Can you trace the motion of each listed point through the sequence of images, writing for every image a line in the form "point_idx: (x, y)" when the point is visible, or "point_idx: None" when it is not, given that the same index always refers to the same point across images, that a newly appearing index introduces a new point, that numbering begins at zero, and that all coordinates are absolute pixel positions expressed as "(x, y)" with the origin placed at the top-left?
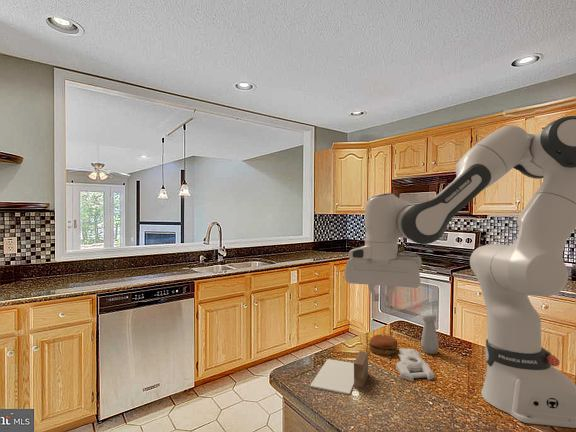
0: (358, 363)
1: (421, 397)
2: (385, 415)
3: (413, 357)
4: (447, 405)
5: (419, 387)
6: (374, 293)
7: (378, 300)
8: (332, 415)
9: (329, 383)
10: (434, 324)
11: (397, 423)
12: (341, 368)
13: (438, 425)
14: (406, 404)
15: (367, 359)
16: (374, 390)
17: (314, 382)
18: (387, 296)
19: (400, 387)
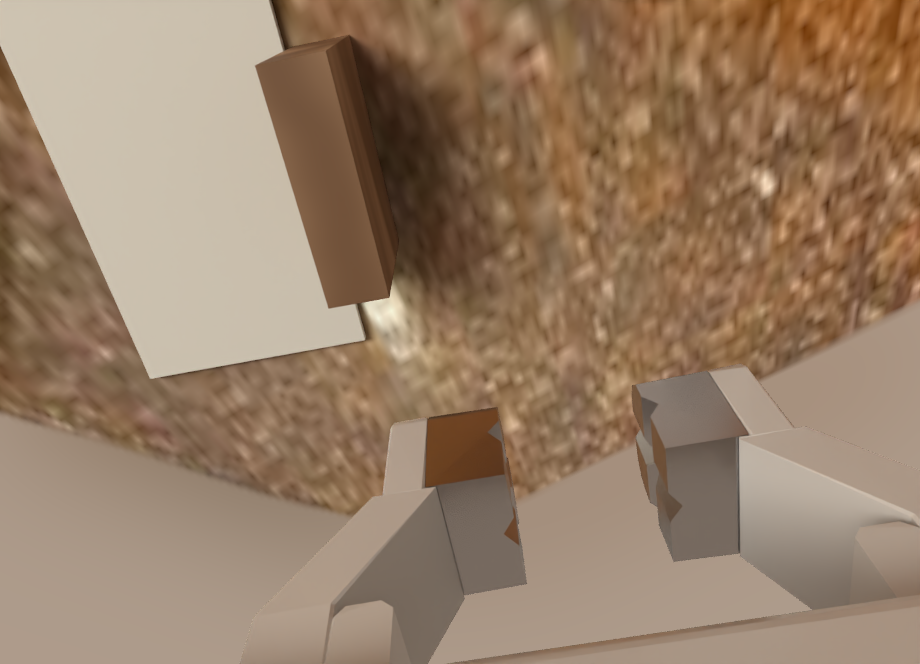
0: (355, 291)
1: (718, 157)
2: (573, 398)
3: None
4: (853, 164)
5: (702, 38)
6: (450, 620)
7: (508, 463)
8: None
9: (221, 308)
10: None
11: (630, 421)
12: (164, 88)
13: (794, 351)
14: (648, 268)
15: (339, 67)
16: (462, 226)
17: (148, 342)
18: (723, 547)
19: (591, 107)
